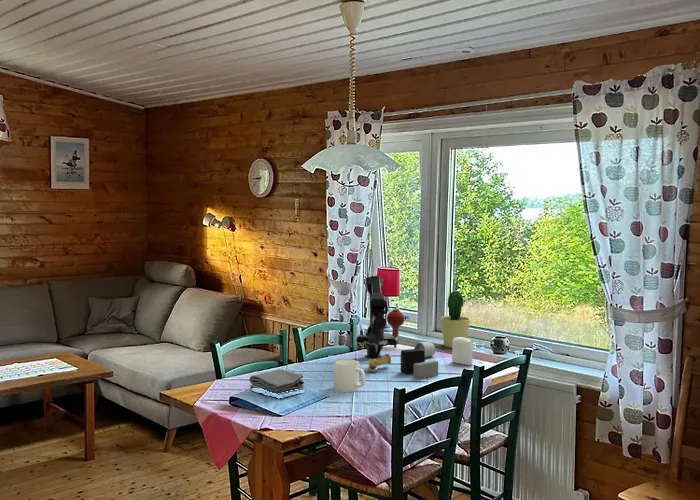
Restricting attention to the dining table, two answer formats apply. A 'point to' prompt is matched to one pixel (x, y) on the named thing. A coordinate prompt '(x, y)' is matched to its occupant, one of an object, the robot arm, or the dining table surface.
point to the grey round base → (372, 370)
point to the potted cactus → (454, 320)
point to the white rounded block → (462, 351)
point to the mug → (347, 376)
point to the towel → (277, 381)
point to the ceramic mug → (426, 348)
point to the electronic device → (411, 359)
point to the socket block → (425, 369)
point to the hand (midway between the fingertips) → (377, 358)
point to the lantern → (395, 321)
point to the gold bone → (380, 361)
